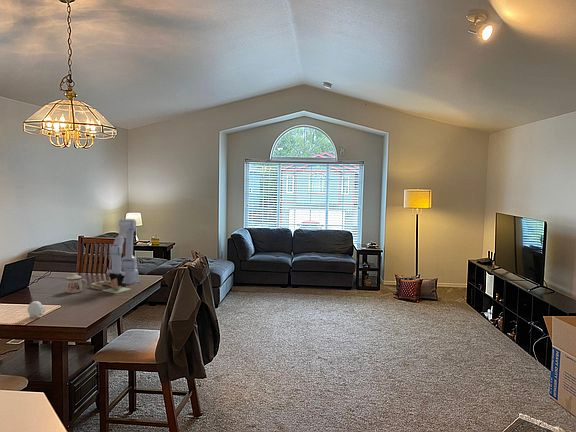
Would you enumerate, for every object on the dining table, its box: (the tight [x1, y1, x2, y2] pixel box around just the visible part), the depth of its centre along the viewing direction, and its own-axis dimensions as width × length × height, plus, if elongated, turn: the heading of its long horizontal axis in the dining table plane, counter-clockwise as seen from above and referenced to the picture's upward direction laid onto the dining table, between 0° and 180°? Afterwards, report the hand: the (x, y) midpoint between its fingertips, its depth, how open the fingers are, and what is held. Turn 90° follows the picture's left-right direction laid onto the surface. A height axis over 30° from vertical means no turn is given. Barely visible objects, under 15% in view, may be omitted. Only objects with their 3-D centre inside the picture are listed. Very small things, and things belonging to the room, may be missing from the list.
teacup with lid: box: [65, 272, 88, 294], centre depth 290 cm, size 12×9×12 cm
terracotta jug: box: [110, 278, 122, 289], centre depth 293 cm, size 7×5×6 cm
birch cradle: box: [89, 280, 112, 291], centre depth 302 cm, size 12×12×2 cm
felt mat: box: [101, 286, 132, 294], centre depth 294 cm, size 13×13×1 cm
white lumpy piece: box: [27, 300, 46, 319], centre depth 239 cm, size 6×8×12 cm
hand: (116, 285), depth 294 cm, fingers closed on terracotta jug, 5 cm apart
